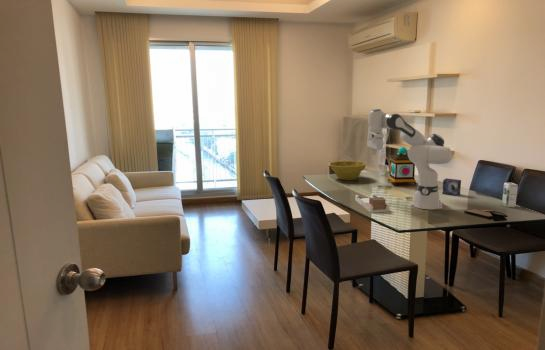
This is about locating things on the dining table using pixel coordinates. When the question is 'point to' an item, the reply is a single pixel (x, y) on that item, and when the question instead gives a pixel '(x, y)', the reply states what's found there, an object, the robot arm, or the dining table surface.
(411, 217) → the dining table surface
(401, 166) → the decorative lantern
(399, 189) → the dining table surface
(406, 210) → the dining table surface
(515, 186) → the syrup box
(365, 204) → the grey chute
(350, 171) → the planter bowl
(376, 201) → the walnut block
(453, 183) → the small box
